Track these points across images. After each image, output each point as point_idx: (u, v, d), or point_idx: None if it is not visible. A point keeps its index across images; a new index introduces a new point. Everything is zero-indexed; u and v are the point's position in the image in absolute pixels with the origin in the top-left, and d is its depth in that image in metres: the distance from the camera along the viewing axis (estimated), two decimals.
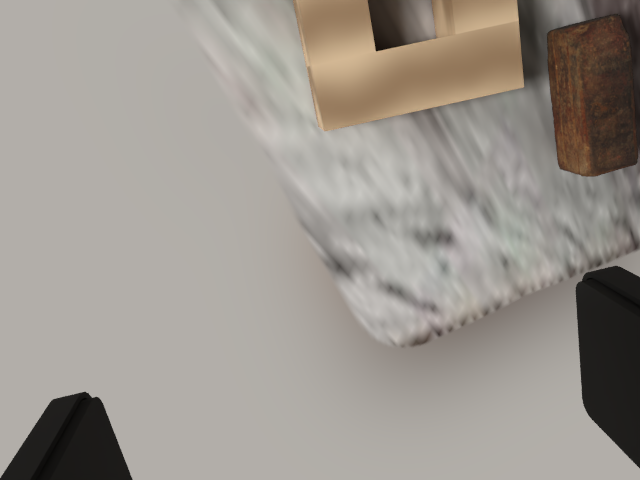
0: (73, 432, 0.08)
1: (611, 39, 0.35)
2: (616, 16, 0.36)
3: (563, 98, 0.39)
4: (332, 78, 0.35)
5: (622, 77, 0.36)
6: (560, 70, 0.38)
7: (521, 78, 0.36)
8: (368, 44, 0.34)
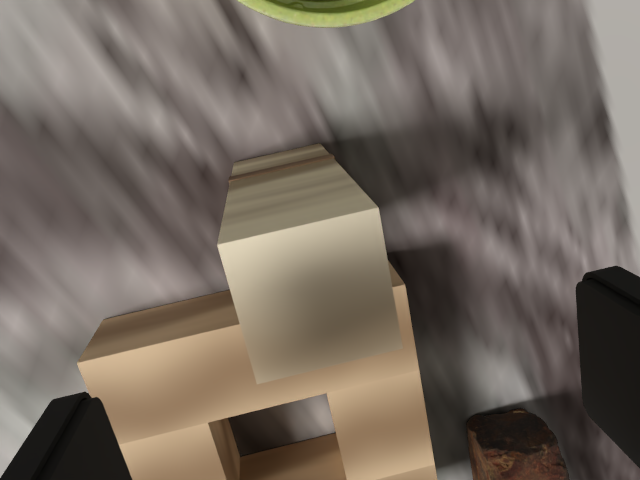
0: (73, 432, 0.08)
1: None
2: (551, 446, 0.27)
3: None
4: None
5: None
6: (481, 478, 0.29)
7: None
8: None
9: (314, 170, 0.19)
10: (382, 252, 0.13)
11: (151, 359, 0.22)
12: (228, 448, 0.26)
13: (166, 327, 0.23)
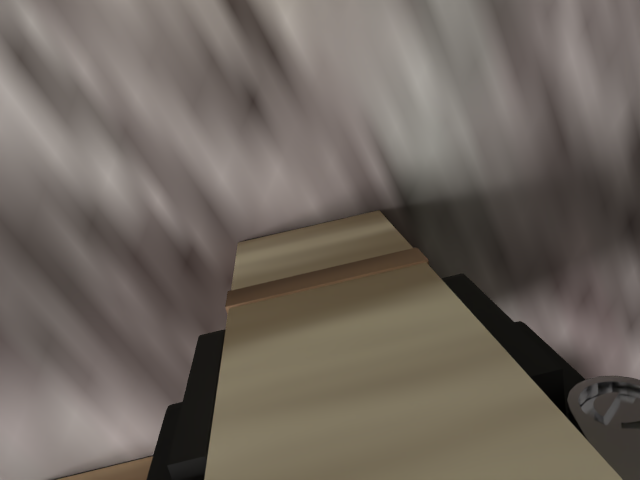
0: None
1: None
2: None
3: None
4: None
5: None
6: None
7: None
8: None
9: (400, 302, 0.09)
10: None
11: None
12: None
13: None
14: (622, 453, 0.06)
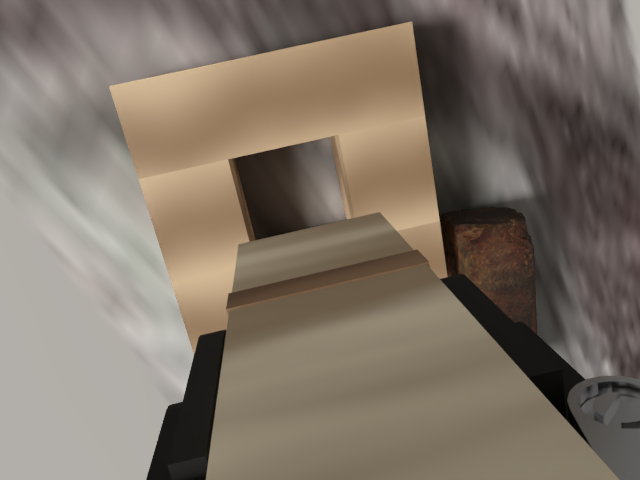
0: None
1: (508, 251, 0.28)
2: (519, 220, 0.28)
3: None
4: (200, 296, 0.27)
5: (521, 295, 0.28)
6: (451, 267, 0.30)
7: None
8: None
9: (401, 305, 0.09)
10: None
11: (177, 86, 0.24)
12: (245, 212, 0.28)
13: None
14: (622, 453, 0.06)
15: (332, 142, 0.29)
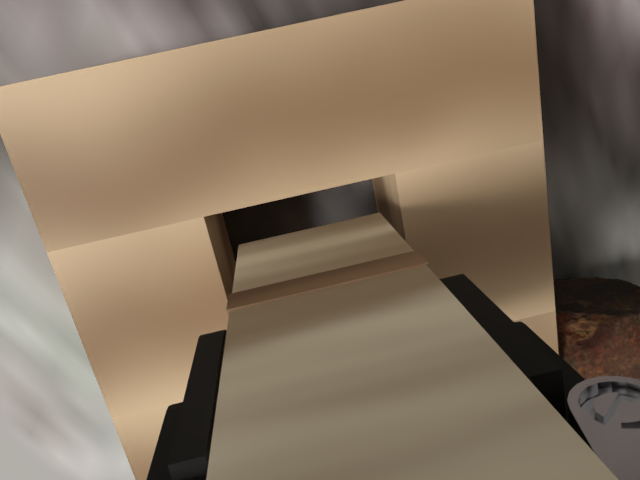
0: None
1: None
2: None
3: None
4: None
5: None
6: None
7: None
8: None
9: (401, 306, 0.09)
10: None
11: (109, 91, 0.13)
12: None
13: None
14: (622, 453, 0.06)
15: (374, 178, 0.18)
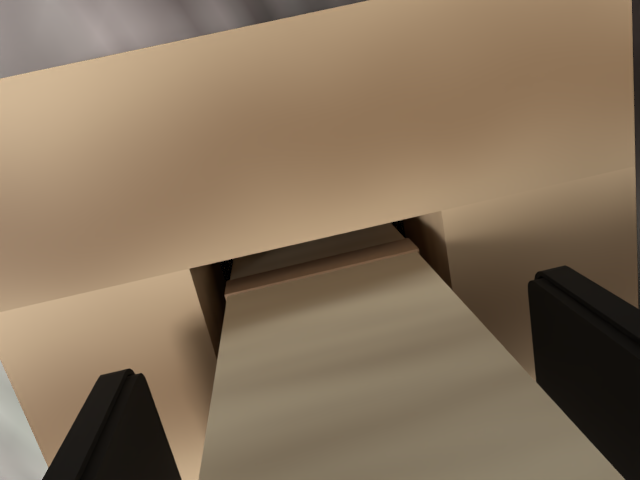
0: (124, 403, 0.09)
1: None
2: None
3: None
4: None
5: None
6: None
7: None
8: None
9: (390, 288, 0.09)
10: None
11: (60, 103, 0.10)
12: None
13: None
14: None
15: None
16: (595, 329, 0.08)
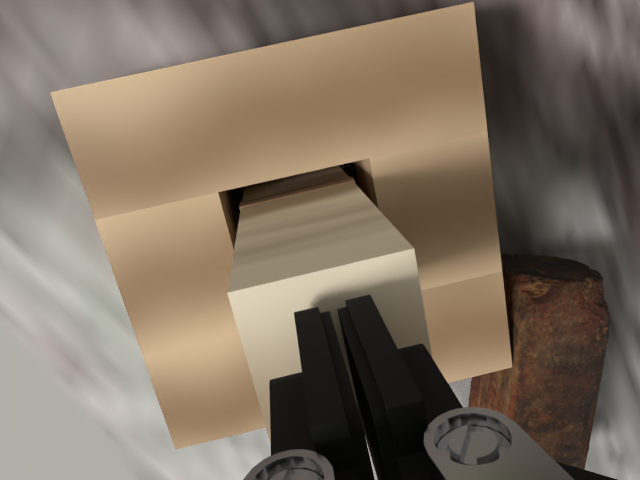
0: (332, 333, 0.10)
1: (580, 319, 0.21)
2: (597, 281, 0.21)
3: None
4: (182, 372, 0.20)
5: (584, 379, 0.22)
6: None
7: (507, 355, 0.21)
8: None
9: (333, 196, 0.17)
10: (418, 299, 0.11)
11: (146, 93, 0.17)
12: None
13: None
14: None
15: (356, 164, 0.22)
16: (354, 360, 0.09)
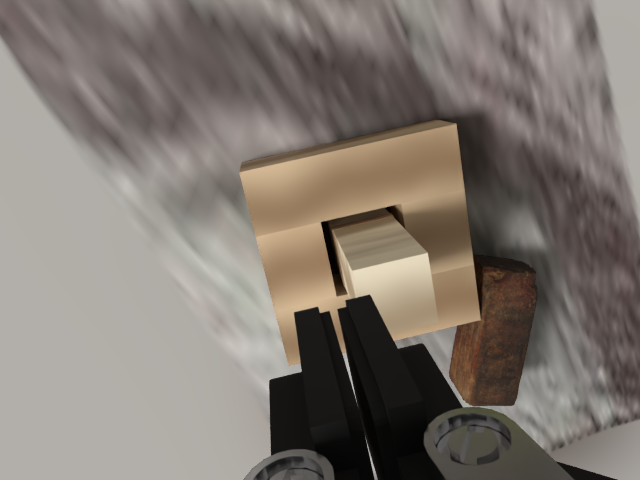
0: (332, 333, 0.10)
1: (520, 293, 0.37)
2: (531, 273, 0.37)
3: None
4: None
5: (521, 329, 0.38)
6: None
7: (477, 312, 0.37)
8: (329, 291, 0.36)
9: (384, 225, 0.33)
10: (429, 274, 0.27)
11: (287, 171, 0.33)
12: None
13: (293, 156, 0.34)
14: None
15: None
16: (354, 361, 0.09)
